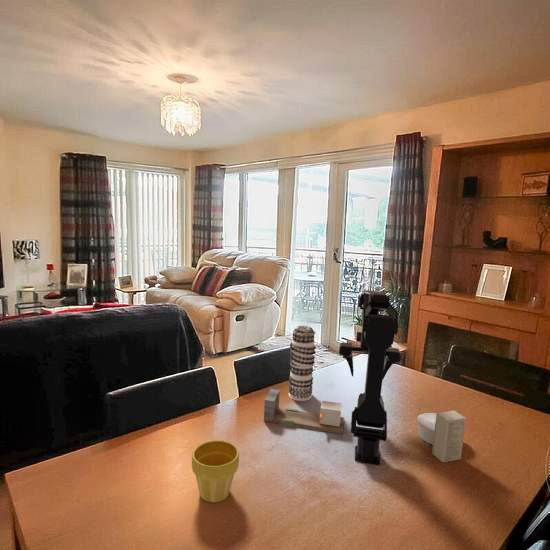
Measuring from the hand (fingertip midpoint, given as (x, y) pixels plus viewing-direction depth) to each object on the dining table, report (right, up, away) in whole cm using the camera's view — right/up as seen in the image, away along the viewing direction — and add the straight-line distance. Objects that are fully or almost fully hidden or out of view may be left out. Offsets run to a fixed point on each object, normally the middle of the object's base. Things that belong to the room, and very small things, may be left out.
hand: (367, 377), depth 122 cm
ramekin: (+18, -16, -9) cm, 26 cm away
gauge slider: (-13, -12, -6) cm, 19 cm away
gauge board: (-20, -13, -3) cm, 24 cm away
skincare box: (+17, -17, -18) cm, 30 cm away
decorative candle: (-21, -10, +14) cm, 27 cm away
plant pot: (-43, -16, -36) cm, 58 cm away
